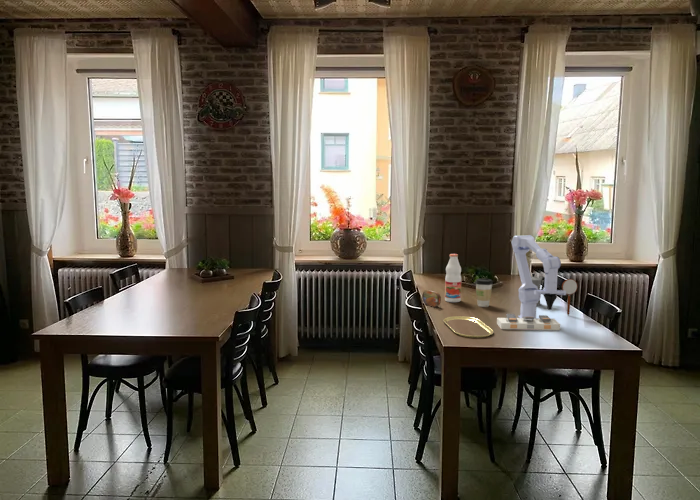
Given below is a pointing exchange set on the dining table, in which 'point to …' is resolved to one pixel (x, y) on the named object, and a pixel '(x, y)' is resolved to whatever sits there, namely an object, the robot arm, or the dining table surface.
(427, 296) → the tin
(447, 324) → the serving platter
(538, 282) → the coffeepot
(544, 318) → the rocker
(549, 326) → the switch panel
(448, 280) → the fruit juice
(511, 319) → the rocker
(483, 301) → the coffee cup
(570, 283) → the magnifying glass
